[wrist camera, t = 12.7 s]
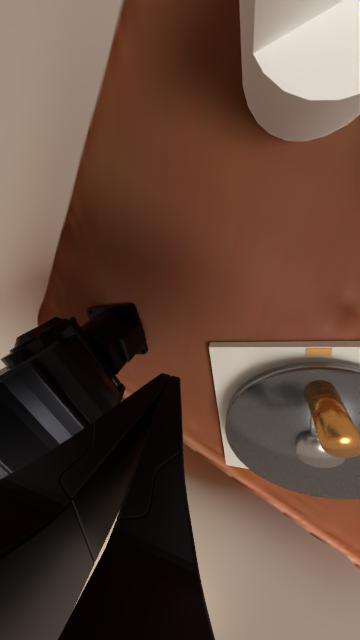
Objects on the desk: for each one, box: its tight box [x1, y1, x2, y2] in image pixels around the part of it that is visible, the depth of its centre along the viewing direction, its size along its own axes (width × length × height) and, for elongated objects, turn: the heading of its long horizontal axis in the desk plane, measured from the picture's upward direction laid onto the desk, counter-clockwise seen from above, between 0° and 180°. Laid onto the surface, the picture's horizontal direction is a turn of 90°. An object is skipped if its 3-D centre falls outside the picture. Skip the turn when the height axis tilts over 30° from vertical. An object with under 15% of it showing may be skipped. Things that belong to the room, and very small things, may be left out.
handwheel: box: [225, 362, 360, 499], centre depth 19 cm, size 18×18×6 cm
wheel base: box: [209, 341, 360, 469], centre depth 23 cm, size 20×20×2 cm
